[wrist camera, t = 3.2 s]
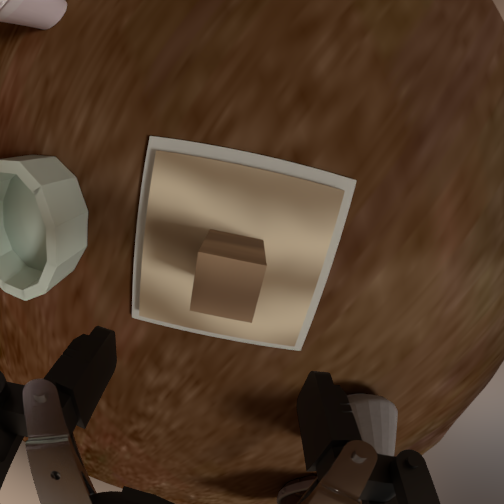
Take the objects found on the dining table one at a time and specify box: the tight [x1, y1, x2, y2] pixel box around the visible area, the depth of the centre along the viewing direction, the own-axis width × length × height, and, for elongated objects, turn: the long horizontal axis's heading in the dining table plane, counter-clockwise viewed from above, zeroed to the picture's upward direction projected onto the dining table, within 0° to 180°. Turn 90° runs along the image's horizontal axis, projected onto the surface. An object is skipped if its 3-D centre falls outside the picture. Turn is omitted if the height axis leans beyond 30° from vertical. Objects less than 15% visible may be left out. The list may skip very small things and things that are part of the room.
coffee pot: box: [347, 393, 398, 504], centre depth 25 cm, size 21×12×15 cm, turn 161°
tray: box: [132, 136, 356, 351], centre depth 23 cm, size 16×16×1 cm
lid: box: [139, 150, 345, 346], centre depth 20 cm, size 14×14×6 cm
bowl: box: [0, 155, 88, 301], centre depth 19 cm, size 12×12×5 cm
